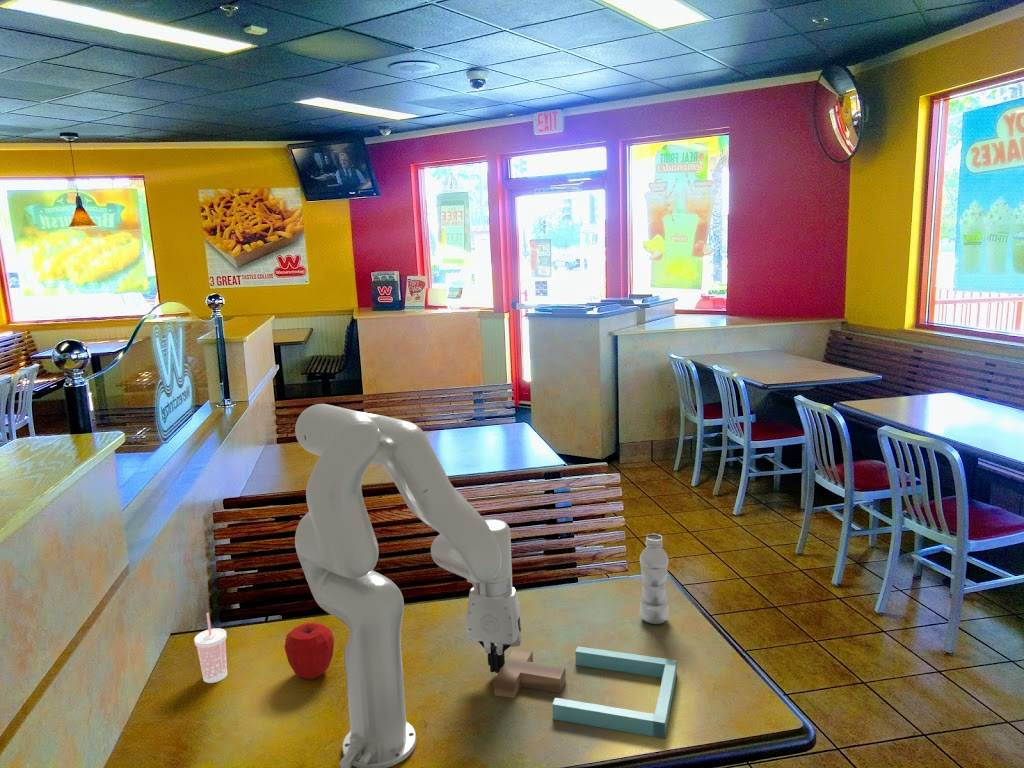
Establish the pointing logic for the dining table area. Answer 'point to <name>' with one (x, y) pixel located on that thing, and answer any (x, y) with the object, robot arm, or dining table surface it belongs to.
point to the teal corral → (617, 716)
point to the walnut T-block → (527, 675)
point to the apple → (309, 649)
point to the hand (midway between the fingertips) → (496, 668)
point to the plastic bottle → (654, 581)
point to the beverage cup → (212, 653)
